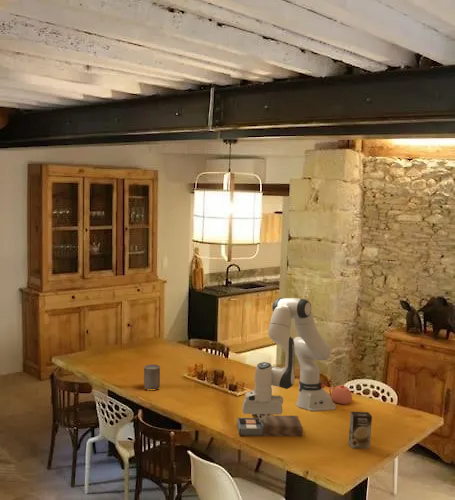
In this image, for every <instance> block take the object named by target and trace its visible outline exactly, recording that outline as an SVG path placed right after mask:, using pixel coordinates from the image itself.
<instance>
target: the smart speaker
mask: <svg viewBox="0 0 455 500" xmlns="http://www.w3.org/2000/svg"><path fill="white" fill-rule="evenodd" d="M160 370H161V367H160V365H158V364H147V365H144V366H143V388H144V387H145V388H146V389H158V388H159V387H161V386H160V383H161V382H160V381H161V380H160V379H161V371H160ZM158 390H159V389H158Z"/></svg>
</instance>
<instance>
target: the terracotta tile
mask: <svg viewBox="0 0 455 500" xmlns="http://www.w3.org/2000/svg"><path fill="white" fill-rule="evenodd" d="M245 425H256V421H255V420H245Z"/></svg>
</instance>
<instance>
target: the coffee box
mask: <svg viewBox="0 0 455 500" xmlns="http://www.w3.org/2000/svg"><path fill="white" fill-rule="evenodd" d="M372 421H373V416H372V415H371V413H370V412H369V411H350V417H349V431H348V445H349V447H350V448H351V449H370V448H371V437H372V436H371V435H372V423H373V422H372Z"/></svg>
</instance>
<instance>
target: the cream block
mask: <svg viewBox="0 0 455 500" xmlns="http://www.w3.org/2000/svg"><path fill="white" fill-rule="evenodd" d="M246 428H257V427H256V425H246Z"/></svg>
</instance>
